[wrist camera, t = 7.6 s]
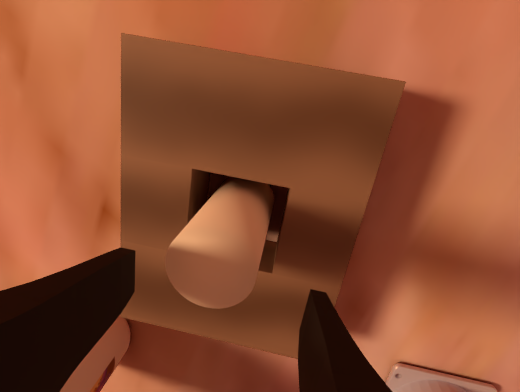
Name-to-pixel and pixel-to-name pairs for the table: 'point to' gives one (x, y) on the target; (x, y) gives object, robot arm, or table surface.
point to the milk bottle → (100, 360)
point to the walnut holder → (246, 175)
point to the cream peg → (222, 245)
